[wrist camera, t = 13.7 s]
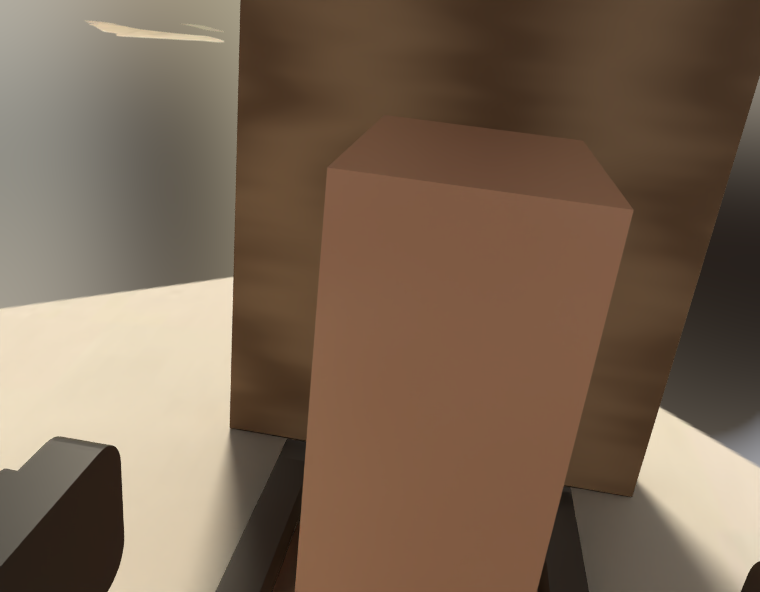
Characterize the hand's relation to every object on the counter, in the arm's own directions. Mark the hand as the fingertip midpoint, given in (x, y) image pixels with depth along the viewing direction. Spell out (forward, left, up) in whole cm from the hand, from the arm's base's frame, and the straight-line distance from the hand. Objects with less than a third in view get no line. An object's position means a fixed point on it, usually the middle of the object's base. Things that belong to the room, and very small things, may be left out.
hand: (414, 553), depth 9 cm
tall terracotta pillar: (0, +6, -8) cm, 10 cm away
